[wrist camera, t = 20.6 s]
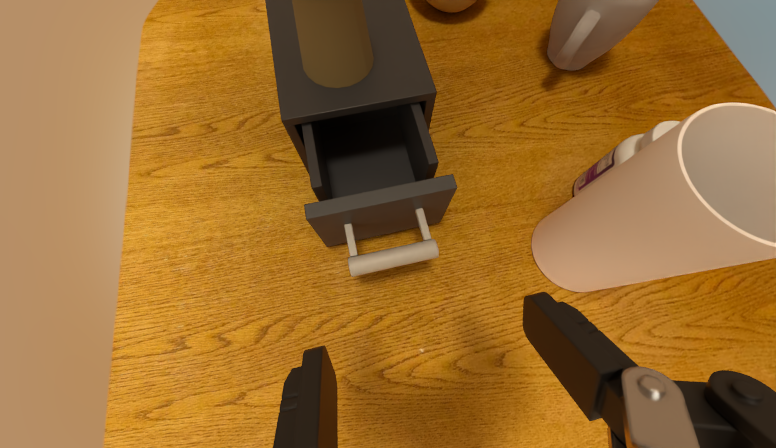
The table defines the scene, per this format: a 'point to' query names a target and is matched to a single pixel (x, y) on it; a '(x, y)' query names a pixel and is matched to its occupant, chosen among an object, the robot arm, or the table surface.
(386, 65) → the small storage chest
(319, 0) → the pepper shaker
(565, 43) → the mug
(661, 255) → the cup
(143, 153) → the table surface
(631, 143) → the pill bottle
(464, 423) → the table surface
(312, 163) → the drawer
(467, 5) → the fruit
